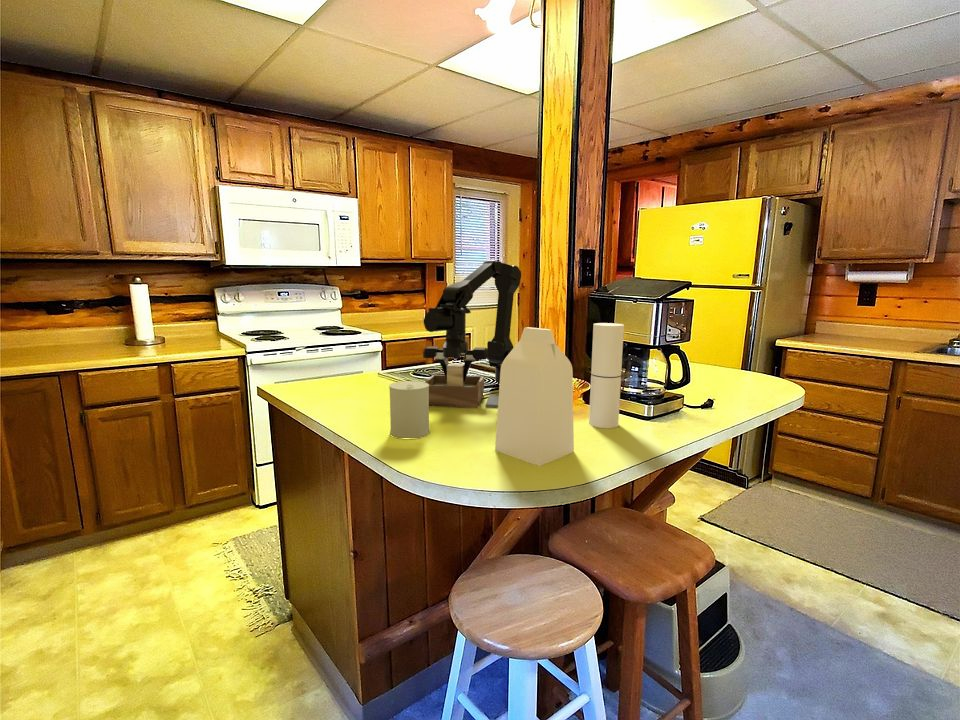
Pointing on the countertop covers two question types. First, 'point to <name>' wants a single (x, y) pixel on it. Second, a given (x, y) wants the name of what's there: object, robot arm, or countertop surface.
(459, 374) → the block
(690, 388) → the countertop surface
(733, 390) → the countertop surface
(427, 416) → the can
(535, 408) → the milk
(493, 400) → the pad
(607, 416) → the cylindrical container
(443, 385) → the crate
